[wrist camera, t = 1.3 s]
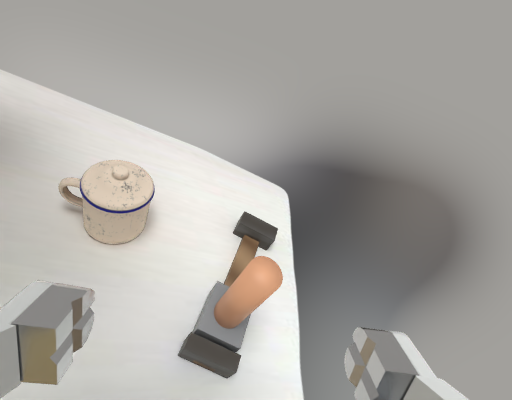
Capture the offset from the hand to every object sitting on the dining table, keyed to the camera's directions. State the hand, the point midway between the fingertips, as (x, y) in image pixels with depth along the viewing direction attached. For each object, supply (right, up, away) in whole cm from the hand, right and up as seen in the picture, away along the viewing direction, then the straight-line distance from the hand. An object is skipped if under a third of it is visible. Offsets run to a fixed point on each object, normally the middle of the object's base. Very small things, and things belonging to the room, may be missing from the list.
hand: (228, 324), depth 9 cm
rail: (-3, -10, +36) cm, 38 cm away
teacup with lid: (-22, +1, +35) cm, 42 cm away
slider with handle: (-4, -14, +32) cm, 35 cm away
